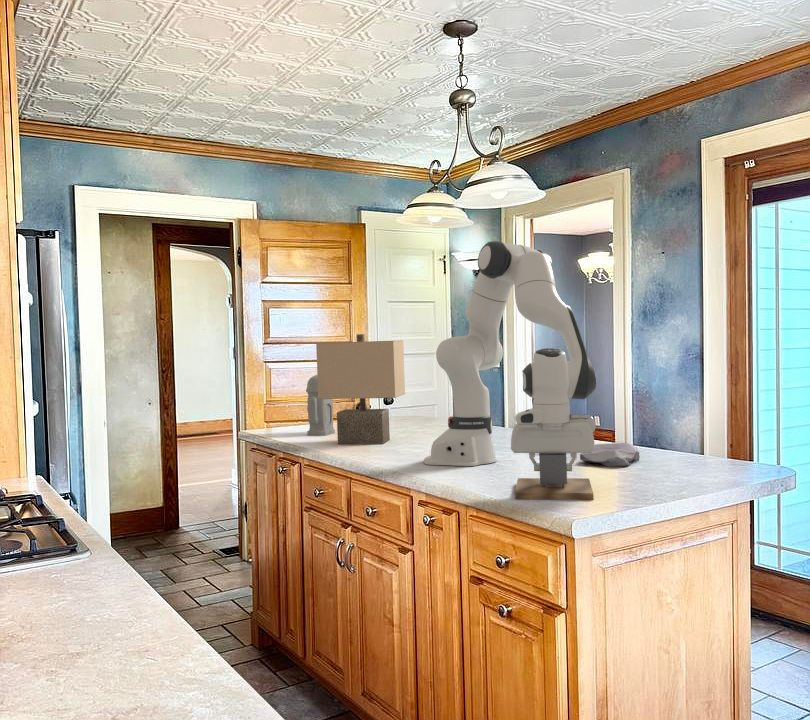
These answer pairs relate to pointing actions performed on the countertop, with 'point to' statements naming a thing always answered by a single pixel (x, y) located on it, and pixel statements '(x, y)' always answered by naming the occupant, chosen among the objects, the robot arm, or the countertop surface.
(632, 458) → the stone
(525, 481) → the brown square plate
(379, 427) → the lamp
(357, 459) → the countertop surface
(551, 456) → the grey block with cylinder
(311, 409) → the grey tall figure
